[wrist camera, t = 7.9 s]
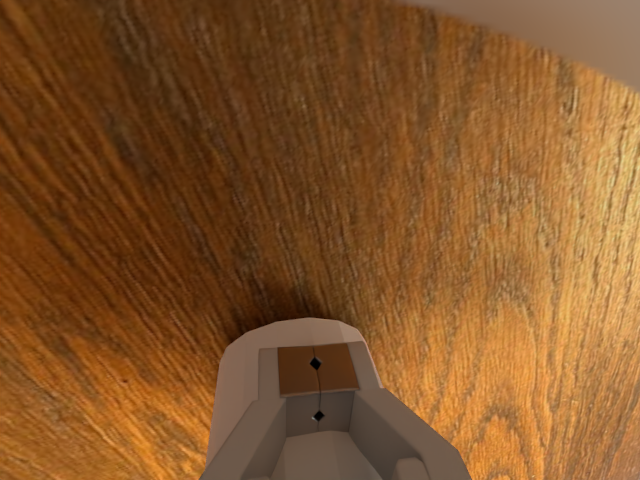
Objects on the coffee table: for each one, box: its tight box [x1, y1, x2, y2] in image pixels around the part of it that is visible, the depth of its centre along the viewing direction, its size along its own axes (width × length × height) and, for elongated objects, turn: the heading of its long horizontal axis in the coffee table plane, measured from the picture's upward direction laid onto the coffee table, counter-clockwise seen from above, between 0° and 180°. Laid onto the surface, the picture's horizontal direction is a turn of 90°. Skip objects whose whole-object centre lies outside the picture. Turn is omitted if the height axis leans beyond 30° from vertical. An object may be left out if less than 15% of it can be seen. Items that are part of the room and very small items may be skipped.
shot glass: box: [205, 318, 383, 480], centre depth 11 cm, size 7×7×7 cm
